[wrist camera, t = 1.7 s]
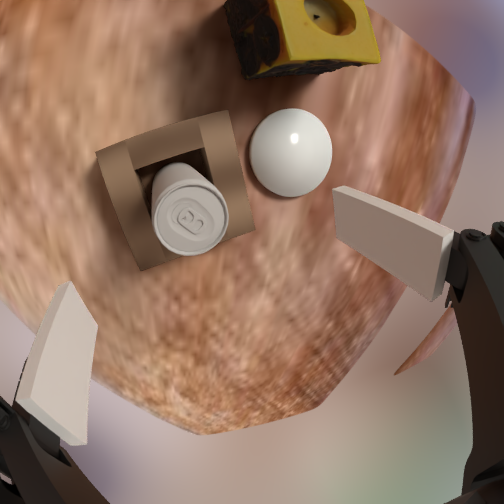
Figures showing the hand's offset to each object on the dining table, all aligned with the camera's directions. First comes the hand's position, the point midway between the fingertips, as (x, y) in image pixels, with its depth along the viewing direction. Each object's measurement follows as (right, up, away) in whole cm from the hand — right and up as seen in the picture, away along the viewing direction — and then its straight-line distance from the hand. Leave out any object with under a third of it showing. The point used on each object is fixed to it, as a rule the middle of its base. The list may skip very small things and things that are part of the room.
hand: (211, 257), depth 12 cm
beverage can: (-6, +7, +14) cm, 17 cm away
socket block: (-6, +7, +14) cm, 17 cm away
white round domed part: (+6, +11, +17) cm, 21 cm away
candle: (+4, +23, +10) cm, 26 cm away
